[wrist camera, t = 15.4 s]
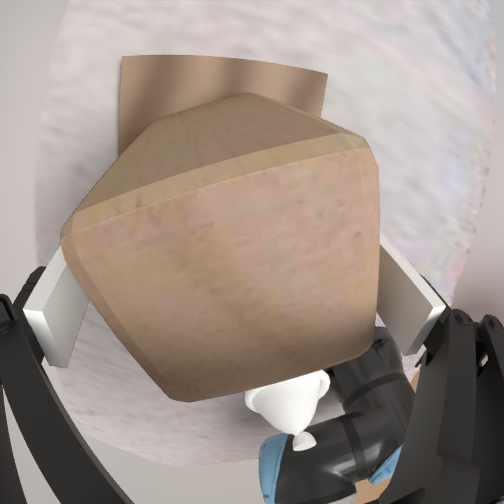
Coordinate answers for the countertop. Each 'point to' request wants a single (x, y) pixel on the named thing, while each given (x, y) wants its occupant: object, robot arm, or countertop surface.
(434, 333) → the robot arm
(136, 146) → the wooden block
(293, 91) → the walnut board
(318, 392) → the honey pot
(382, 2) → the countertop surface
